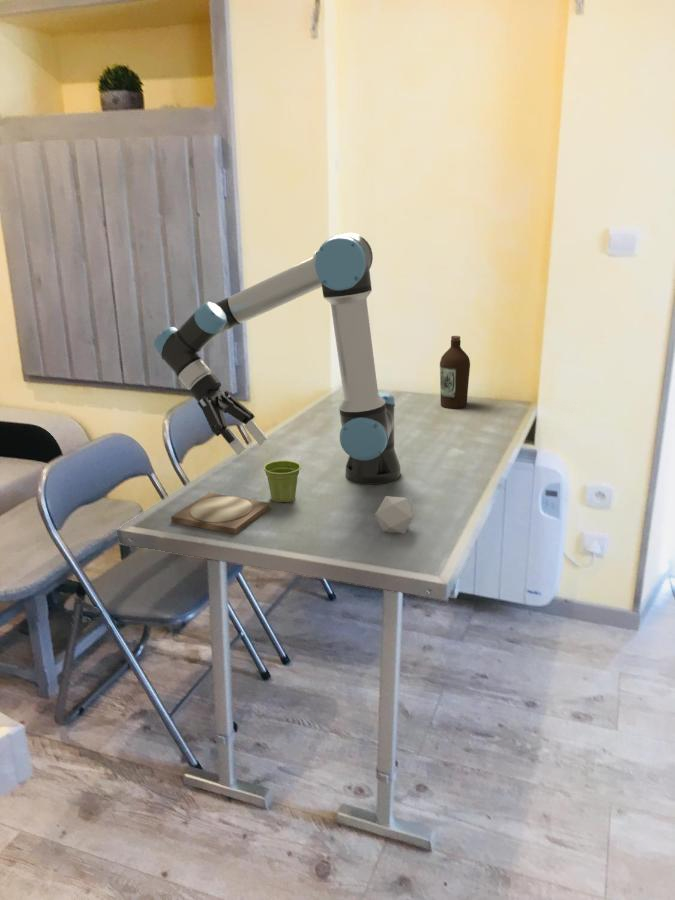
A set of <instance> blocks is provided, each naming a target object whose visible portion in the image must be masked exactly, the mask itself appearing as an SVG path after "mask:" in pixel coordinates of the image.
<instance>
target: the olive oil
mask: <svg viewBox="0 0 675 900" xmlns="http://www.w3.org/2000/svg"><path fill="white" fill-rule="evenodd" d="M470 371H471V360H470V357H469V355H468V354H467V352H465V350H463V349H462V347H461V336H460V335H452V336H451V340H450V347H449V348H448V349H447V350H446V352H444V353H443V355H442V356H441V358H440V361H439V376H440V377H439V378H440V379H439V381H440V386H439V387H440V406H441V407H442V408H445V409H457V410H458V409H464V408H466V407H467V406H468V393H469V382H470V381H469V380H470Z"/></svg>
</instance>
